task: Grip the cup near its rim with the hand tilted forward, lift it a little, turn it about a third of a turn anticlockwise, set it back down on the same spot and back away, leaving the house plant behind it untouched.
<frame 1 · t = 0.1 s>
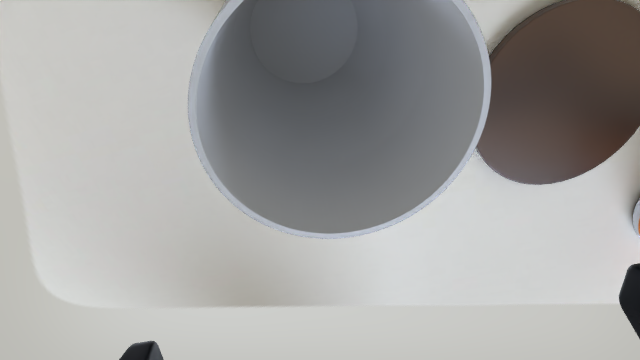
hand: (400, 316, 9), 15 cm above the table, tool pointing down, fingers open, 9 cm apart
cup: (304, 28, 21), on the table
coaster: (561, 97, 25), on the table
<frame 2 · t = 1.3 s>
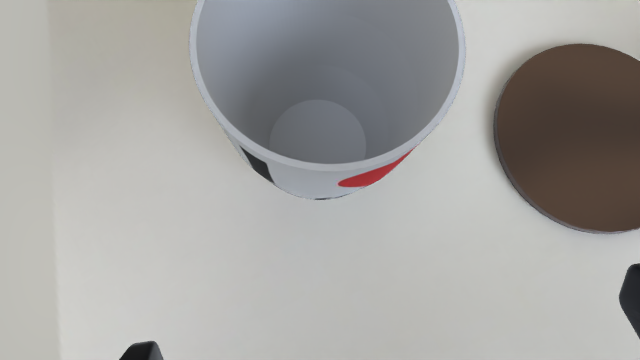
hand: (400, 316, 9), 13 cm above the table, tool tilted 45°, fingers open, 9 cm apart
cup: (317, 146, 24), on the table
coaster: (590, 136, 24), on the table
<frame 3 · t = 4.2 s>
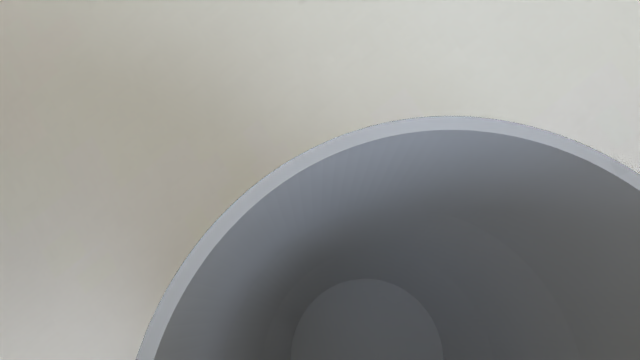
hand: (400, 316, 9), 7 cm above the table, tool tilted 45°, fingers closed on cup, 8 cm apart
cup: (365, 353, 15), on the table, touching gripper
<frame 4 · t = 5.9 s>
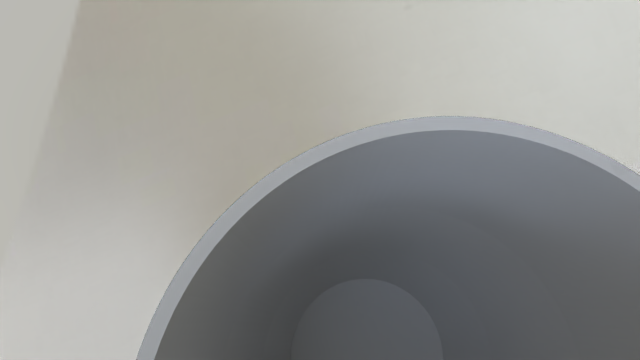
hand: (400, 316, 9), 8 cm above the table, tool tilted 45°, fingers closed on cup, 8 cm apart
cup: (365, 354, 15), point 1 cm above the table, touching gripper
when the fingers open (7 cm above the table, at t = 7.8 s): cup stays where it is, on the table.
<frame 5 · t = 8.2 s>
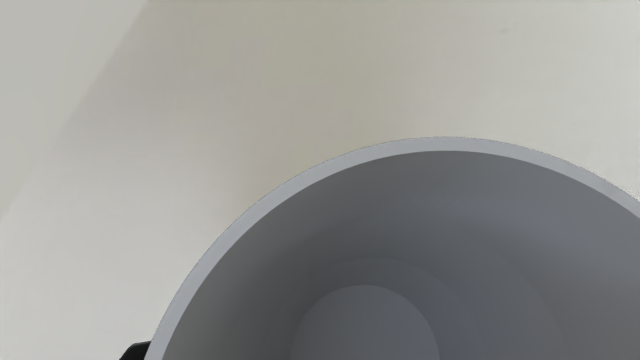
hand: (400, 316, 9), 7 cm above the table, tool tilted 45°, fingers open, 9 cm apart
cup: (363, 359, 15), on the table
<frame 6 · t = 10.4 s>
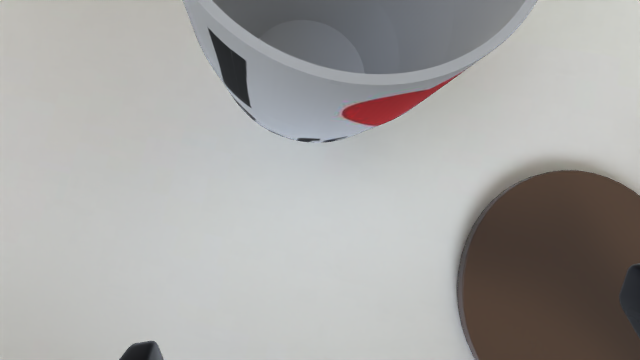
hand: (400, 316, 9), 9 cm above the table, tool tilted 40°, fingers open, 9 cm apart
cup: (305, 78, 19), on the table
coaster: (574, 294, 19), on the table
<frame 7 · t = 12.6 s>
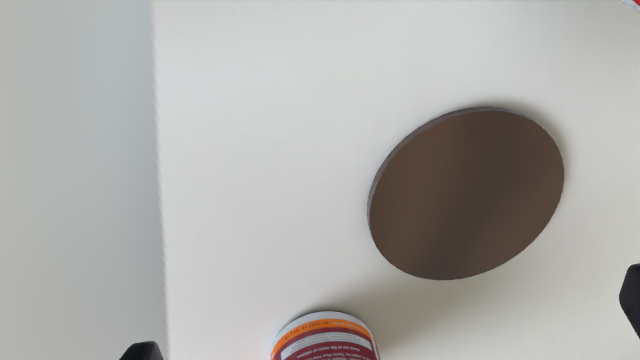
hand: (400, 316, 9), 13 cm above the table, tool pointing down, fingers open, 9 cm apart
coaster: (463, 199, 24), on the table
pill bottle: (321, 341, 28), on the table
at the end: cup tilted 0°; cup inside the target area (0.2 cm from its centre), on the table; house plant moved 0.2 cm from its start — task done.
